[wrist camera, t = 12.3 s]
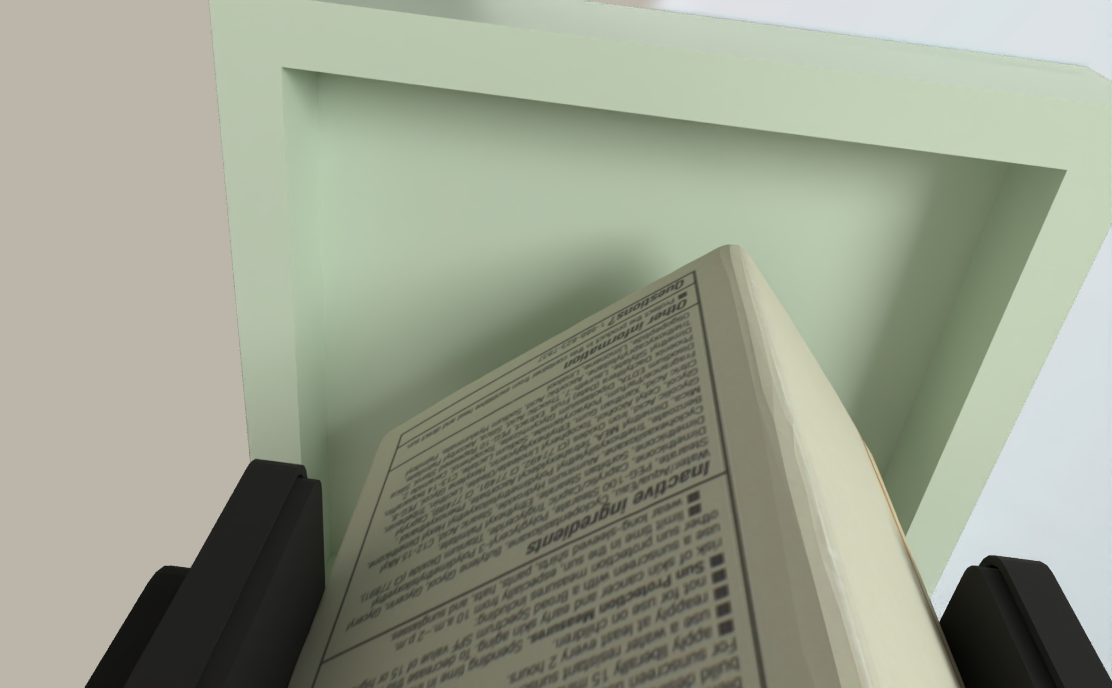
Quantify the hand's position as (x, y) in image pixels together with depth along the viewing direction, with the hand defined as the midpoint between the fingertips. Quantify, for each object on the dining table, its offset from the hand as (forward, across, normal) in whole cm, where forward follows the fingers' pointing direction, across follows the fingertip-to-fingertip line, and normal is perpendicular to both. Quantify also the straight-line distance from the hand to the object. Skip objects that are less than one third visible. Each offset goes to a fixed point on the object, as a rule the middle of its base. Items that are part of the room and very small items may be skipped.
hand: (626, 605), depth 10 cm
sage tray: (+5, 0, 0) cm, 5 cm away
